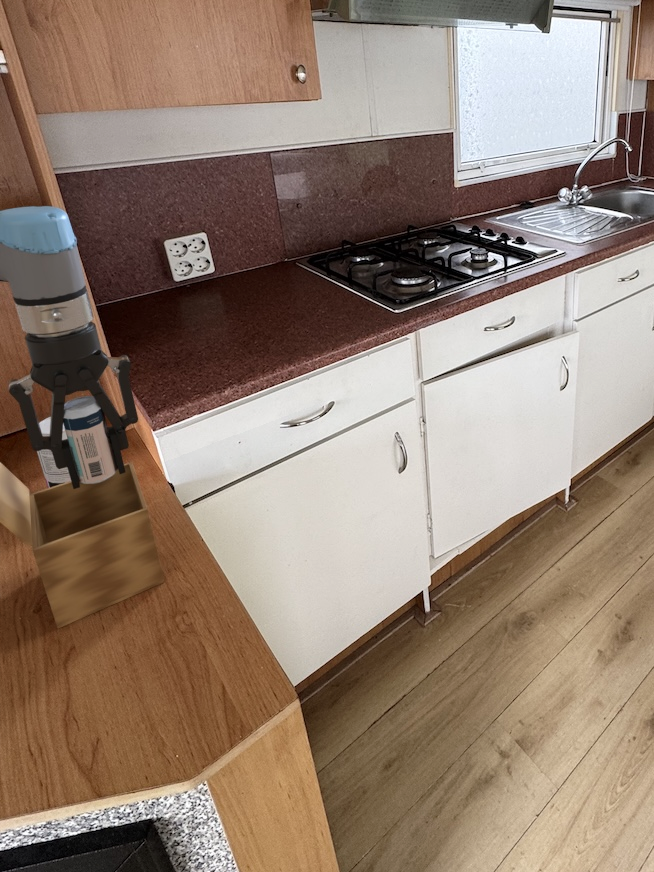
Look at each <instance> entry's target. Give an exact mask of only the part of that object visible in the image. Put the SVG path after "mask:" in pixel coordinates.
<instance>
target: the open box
mask: <svg viewBox="0 0 654 872" xmlns="http://www.w3.org/2000/svg"><path fill="white" fill-rule="evenodd" d="M124 467H125V473H122V474H119V470H117V471H116V473H115V474H114V475H113V476H111V477H110V478H109V479H107V480H105V481H103V482H100V483H95V484H84V483H81V482H79V484H80V487H79V488H76V489H73V486H72V482H71V481H69V482H66V483H63V484H60V485H57V486H53V487H50V488H48V487H47V488H44V489H41V490H38V491H34V492H31V493H29V496H30V514H31V531H32V546H31V547H32V548H31V549H32V554H33V557H34V560H35V563H36V566H37V569H38V573H39V575H40V579H41V582H42V585H43V587H44V588H43V589H44V591H45V593H46V597H47V600H48V603H49V606H50V609H51V612H52V615H53V619H54V622H55V625H56V628H57V629H61V628H63V627H66V626H67V625H69V624H72V623H74V622H77V621H80V620H81V619H84V618H86V617H89V616H90V615H93V614H95V613H97V612H100V611H102V610H104V609H106V608H108V607H112V606H113V605H116V604H118V603H120V602H123V601H125V600H127V599H129V598H131V597H134V596H137V595H139V594H141V593H143V592H145V591H147V590H150V589H152V588H154V587H157V586H159V585H161V584H164V583H165V579H164V573H163V570H162V565H161V561H160V556H159V552H158V547H157V544H156V543H157V542H156V539H155V535H154V530H153V526H152V522H151V517H150V513H149V509H148V506H147V502H146V499H145V497H144V494H143V491H142V488H141V485H140V482H139V479H138V476H137V473H136V470H135V466H134V463H133V461H129V462H127V463H124Z"/></svg>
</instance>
